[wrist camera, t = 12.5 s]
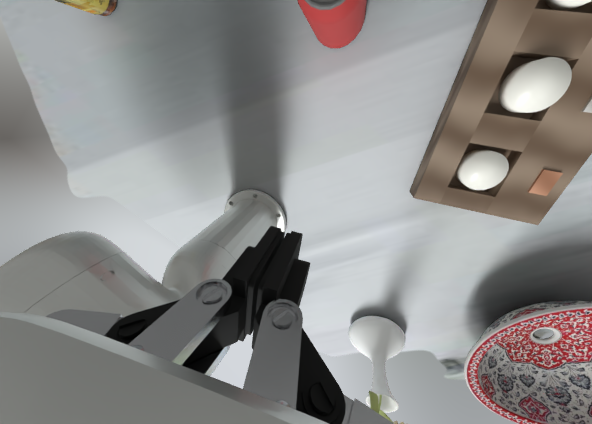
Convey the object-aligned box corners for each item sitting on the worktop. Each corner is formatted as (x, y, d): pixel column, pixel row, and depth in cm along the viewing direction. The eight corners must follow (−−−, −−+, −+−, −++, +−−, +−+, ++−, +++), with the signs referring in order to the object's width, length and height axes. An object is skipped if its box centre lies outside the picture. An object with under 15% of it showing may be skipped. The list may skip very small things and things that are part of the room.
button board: (523, 215, 32) (539, 225, 29) (409, 191, 35) (414, 198, 32) (737, -93, 19) (806, -129, 16) (527, -98, 21) (554, -130, 18)
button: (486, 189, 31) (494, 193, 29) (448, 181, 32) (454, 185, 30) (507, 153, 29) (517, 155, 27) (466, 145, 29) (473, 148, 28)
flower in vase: (406, 348, 49) (448, 547, 27) (353, 346, 52) (351, 519, 30) (400, 303, 44) (445, 499, 22) (342, 304, 48) (332, 472, 26)
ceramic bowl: (447, 376, 49) (463, 421, 42) (446, 270, 39) (466, 306, 32) (634, 392, 40) (694, 453, 33) (698, 258, 30) (805, 305, 23)
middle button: (537, 115, 25) (550, 116, 24) (489, 108, 26) (499, 108, 24) (567, 64, 23) (584, 60, 21) (514, 58, 24) (527, 54, 22)
